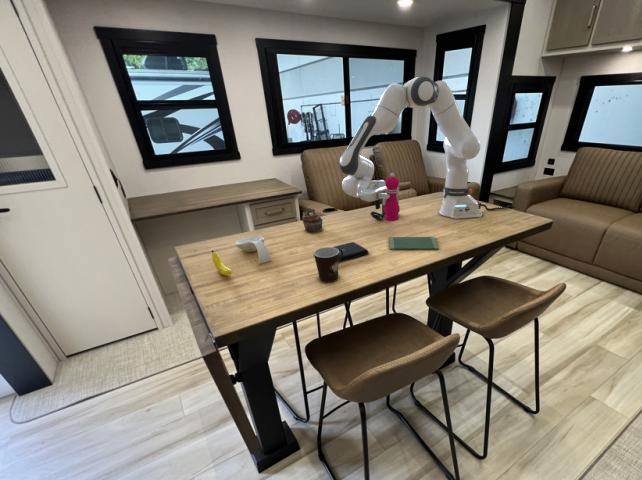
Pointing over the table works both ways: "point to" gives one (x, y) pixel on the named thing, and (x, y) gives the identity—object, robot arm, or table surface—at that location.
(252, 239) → the spoon rest
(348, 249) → the laptop
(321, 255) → the coffee mug
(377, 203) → the milk frother
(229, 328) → the table surface
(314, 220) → the cupcake
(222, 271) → the banana
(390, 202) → the pepper mill
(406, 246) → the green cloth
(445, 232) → the table surface
